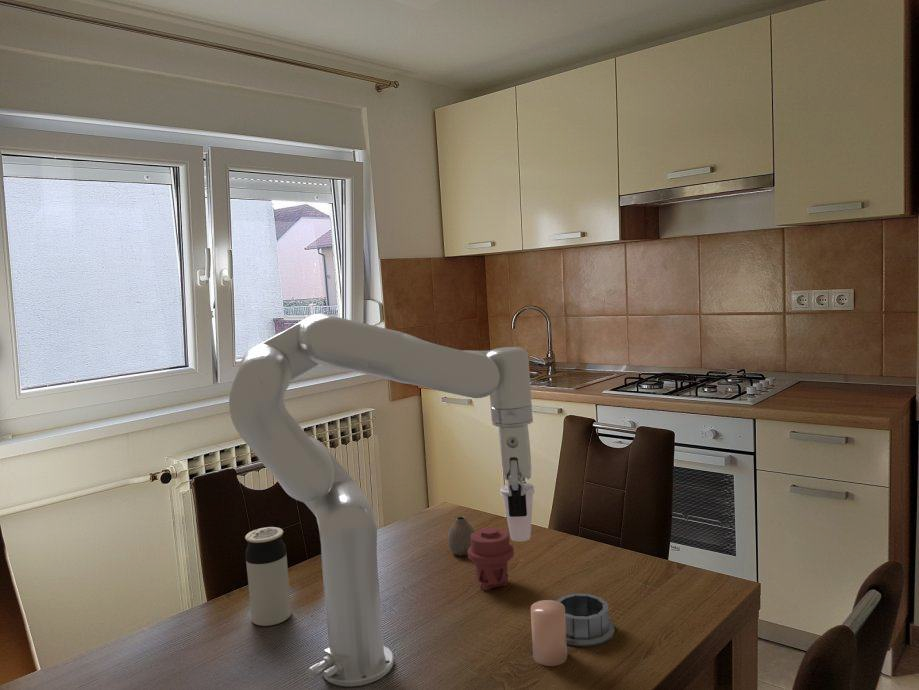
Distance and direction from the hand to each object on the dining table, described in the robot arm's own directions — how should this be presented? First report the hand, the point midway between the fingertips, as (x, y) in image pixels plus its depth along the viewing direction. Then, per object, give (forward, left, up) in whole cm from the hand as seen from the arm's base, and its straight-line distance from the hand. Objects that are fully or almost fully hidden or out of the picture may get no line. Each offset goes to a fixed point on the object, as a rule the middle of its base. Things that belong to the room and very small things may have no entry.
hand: (518, 508), depth 130 cm
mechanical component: (+12, +17, -24) cm, 32 cm away
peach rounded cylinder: (-5, -9, -24) cm, 26 cm away
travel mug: (-25, +46, -24) cm, 58 cm away
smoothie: (0, 0, -6) cm, 6 cm away
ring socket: (+6, -9, -24) cm, 26 cm away
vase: (+22, +34, -24) cm, 48 cm away
